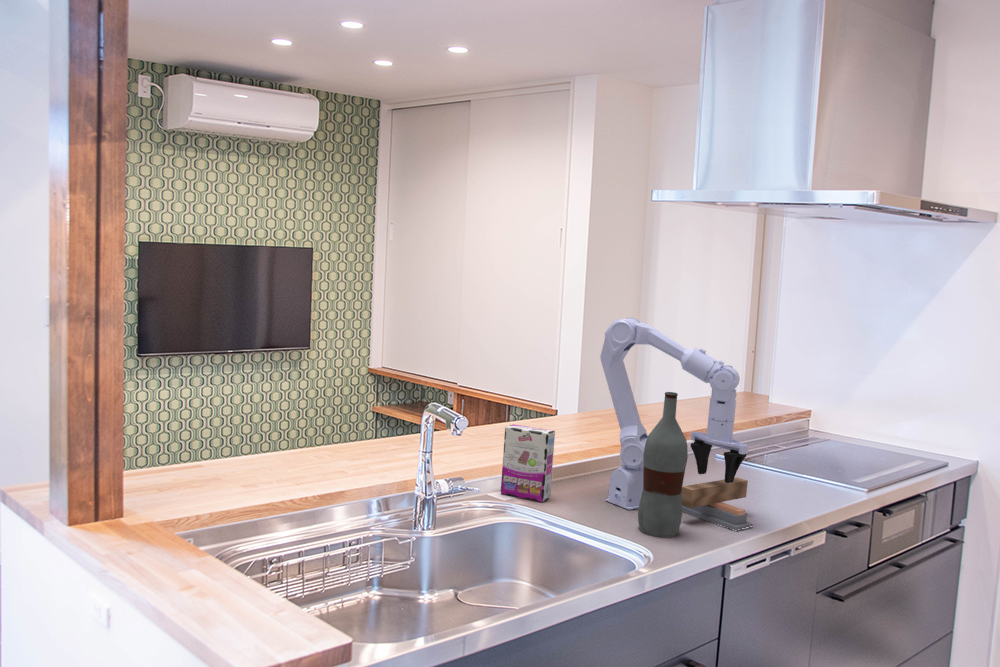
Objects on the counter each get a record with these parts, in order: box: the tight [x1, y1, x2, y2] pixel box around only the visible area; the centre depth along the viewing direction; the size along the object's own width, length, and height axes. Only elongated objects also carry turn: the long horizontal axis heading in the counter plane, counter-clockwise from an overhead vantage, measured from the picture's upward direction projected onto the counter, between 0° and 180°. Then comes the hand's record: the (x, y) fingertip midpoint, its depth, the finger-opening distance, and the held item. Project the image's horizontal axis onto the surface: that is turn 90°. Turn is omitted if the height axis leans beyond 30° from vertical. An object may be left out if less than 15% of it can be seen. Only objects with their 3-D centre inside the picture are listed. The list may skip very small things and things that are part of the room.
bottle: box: [637, 391, 689, 538], centre depth 175 cm, size 9×9×30 cm
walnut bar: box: [681, 476, 749, 508], centre depth 188 cm, size 20×3×4 cm, turn 127°
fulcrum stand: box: [682, 502, 754, 530], centre depth 189 cm, size 6×18×4 cm, turn 37°
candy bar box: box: [500, 424, 556, 503], centre depth 194 cm, size 11×5×16 cm, turn 65°
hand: (715, 478), depth 188 cm, fingers open, 7 cm apart
